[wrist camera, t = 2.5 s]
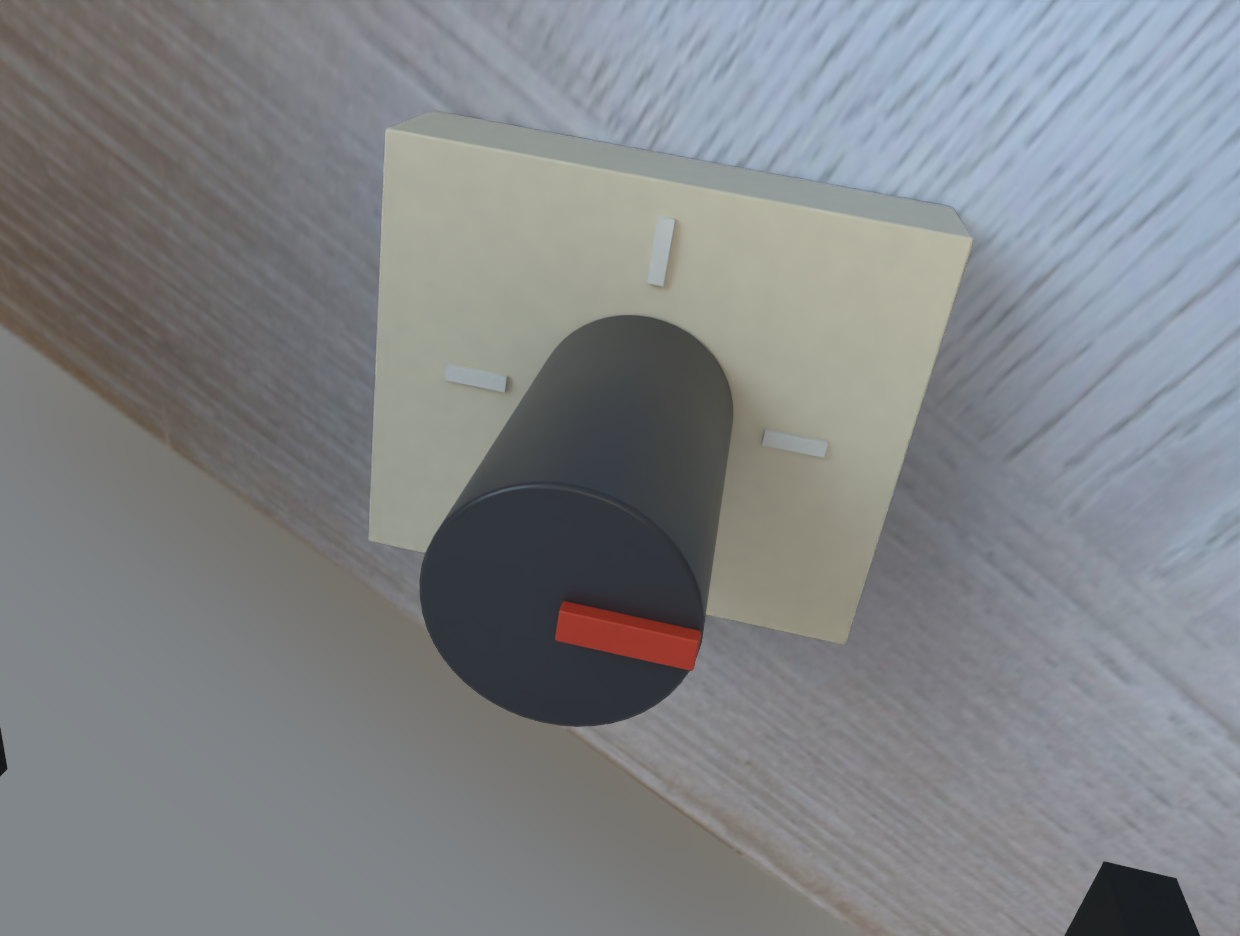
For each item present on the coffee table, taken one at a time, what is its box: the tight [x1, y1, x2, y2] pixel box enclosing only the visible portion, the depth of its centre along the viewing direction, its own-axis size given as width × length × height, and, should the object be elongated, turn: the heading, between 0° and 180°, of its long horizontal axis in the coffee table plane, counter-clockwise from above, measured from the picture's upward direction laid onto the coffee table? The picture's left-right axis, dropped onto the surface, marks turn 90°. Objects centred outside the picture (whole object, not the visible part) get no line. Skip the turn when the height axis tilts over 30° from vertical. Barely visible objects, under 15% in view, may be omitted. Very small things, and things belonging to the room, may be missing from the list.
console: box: [369, 111, 974, 644], centre depth 24 cm, size 12×10×3 cm
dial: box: [420, 315, 733, 727], centre depth 19 cm, size 4×4×8 cm
